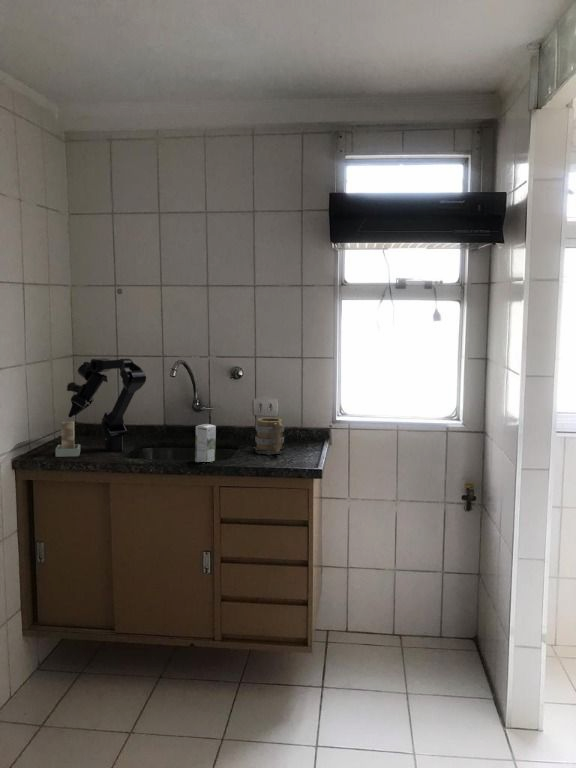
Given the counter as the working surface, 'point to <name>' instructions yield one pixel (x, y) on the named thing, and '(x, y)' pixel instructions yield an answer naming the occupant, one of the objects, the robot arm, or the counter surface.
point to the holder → (67, 451)
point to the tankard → (269, 434)
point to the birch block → (68, 435)
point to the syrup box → (205, 443)
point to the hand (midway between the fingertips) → (71, 416)
